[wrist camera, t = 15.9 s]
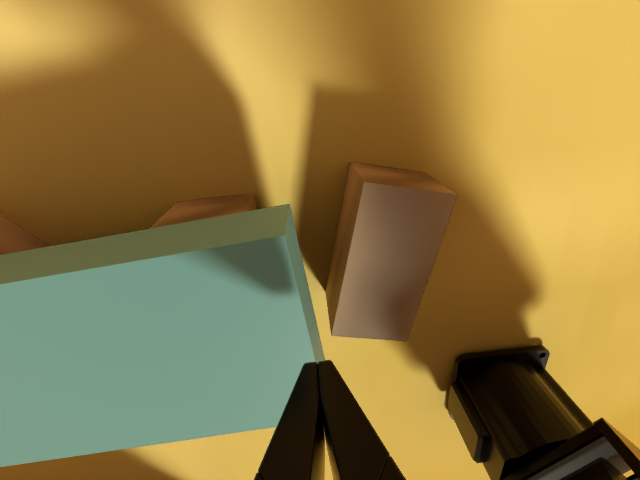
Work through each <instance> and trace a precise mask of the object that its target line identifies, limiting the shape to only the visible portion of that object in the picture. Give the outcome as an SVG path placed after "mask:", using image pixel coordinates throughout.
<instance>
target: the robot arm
mask: <svg viewBox="0 0 640 480" xmlns="http://www.w3.org/2000/svg"><path fill="white" fill-rule="evenodd" d="M548 357H549V351H548V350H547V349H546V348H545V347H544V346H534V347H525V348H517V349H508V350H499V351H490V352H482V353H473V354H464V355H460V356H458V357H457V358H456V361H455V368H454V375H453V381H452V383H451V385H450V392H449V399H448V408H449V411H448V412H449V415H450V417H451V419H453V420H454V421H455V423H456V425H457V427H458V429H459V431H460V434H461V436H462V438H463V440H464V442H465V444H466V446H467V448H468V450H469V453H470V455H471V457H472V459H473V460H474V461H475V462H477V463H483V465H484V467H485V469H486V471H487V473H488V475H489V477H490V479H491V480H640V450H639V449H638V448H637V447H636V446H635V445H634V444H633V443H632V442H630V441H629V440H628V439H627V438H626V437H625V436H623V435H622V434H621V433H620V432H619V431H617V430H616V429H615V428H614V427H613V426H612V425H610V424H609V423H608V422H607V421H606V420H604V419H603V418H600V419H598V420H597V421H595V422H593V423H594V424H593V423H592V422H591V421H590V419H589V418H588V417H587V416H586V415H585V414H584V413H583V412H582V410H581V409H580V408H579V407H578V406H577V405H576V404H575V402H574V401H573V400H572V399H571V398H570V397H569V396H568V395H567V393H566V392H565V391H564V390H563V389H562V388H561V387H560V386H559V384H558V383H557V382H556V381H555V380H554V379H553V378H552V376H551V375H550V374H549V373H548V372H547V371H546V370H545V367H546V364H547V361H548ZM324 431H325V433H324ZM325 438H326V444H327V450H328V455H329V460H330V464H331V469H332V474H333V479H334V480H406V479H405V477H404V476H403V474H402V473H401V471H400V470H399V468H398V467H397V465H396V463H395V462H394V460H393V459H392V457H391V456H390V455H389V452H388V451H387V449H386V448H385V446H384V444H383V443H382V441H381V440H380V438H379V436H378V435H377V433H376V432H375V430H374V428H373V427H372V425H371V424H370V422H369V420H368V419H367V417H366V415H365V414H364V412H363V411H362V409H361V407H360V406H359V404H358V403H357V401H356V399H355V398H354V396H353V395H352V393H351V391H350V390H349V388H348V387H347V385H346V383H345V382H344V380H343V379H342V377H341V375H340V374H339V372H338V371H337V369H336V367H335V366H334V364H333V363H332V361H331V360H325V361H319V362H318V363H317V362H308V363H304V365H303V367H302V369H301V371H300V374H299V376H298V378H297V381H296V383H295V385H294V388H293V390H292V392H291V395H290V397H289V399H288V402H287V404H286V406H285V409H284V411H283V413H282V416H281V418H280V420H279V423H278V425H277V427H276V430H275V432H274V434H273V437H272V439H271V441H270V444H269V446H268V448H267V451H266V453H265V455H264V458H263V460H262V462H261V465H260V467H259V469H258V472H259V473H257V474H256V476H255V478H254V480H324V471H325ZM631 469H632V471H633V472H634V473H635V474H633V475H631V476H629V477H627V478H626V477H625V476H624V475H623V474H624V473H626V472H627V471H629V470H631Z"/></svg>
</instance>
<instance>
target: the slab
mask: <svg viewBox="0 0 640 480" xmlns="http://www.w3.org/2000/svg"><path fill="white" fill-rule="evenodd" d="M319 361H325V358H324V354H323V349H322V345H321V340H320V336H319V332H318V327H317V323H316V318H315V314H314V309H313V305H312V301H311V296H310V292H309V287H308V283H307V279H306V274H305V270H304V265H303V261H302V256H301V252H300V248H299V243H298V239H297V234H296V230H295V226H294V221H293V217H292V212H291V208H290V204H286V205H280V206H275V207H269V208H263V209H258V210H252V211H246V212H241V213H235V214H229V215H224V216H218V217H212V218H207V219H201V220H195V221H190V222H184V223H179V224H173V225H167V226H162V227H156V228H150V229H145V230H139V231H133V232H128V233H122V234H116V235H111V236H105V237H99V238H94V239H88V240H82V241H77V242H71V243H65V244H60V245H54V246H48V247H43V248H37V249H31V250H26V251H20V252H14V253H9V254H3V255H0V467H5V466H12V465H19V464H26V463H32V462H39V461H46V460H53V459H60V458H67V457H73V456H80V455H87V454H94V453H101V452H108V451H114V450H121V449H128V448H135V447H142V446H149V445H155V444H162V443H169V442H176V441H183V440H189V439H196V438H203V437H210V436H217V435H224V434H230V433H237V432H244V431H251V430H258V429H265V428H271V427H277V425H278V423H279V420H280V418H281V416H282V413H283V411H284V409H285V406H286V404H287V402H288V399H289V397H290V395H291V392H292V390H293V388H294V385H295V383H296V381H297V378H298V376H299V374H300V371H301V369H302V367H303V365H304V363H308V362H317V363H318V362H319Z"/></svg>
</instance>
